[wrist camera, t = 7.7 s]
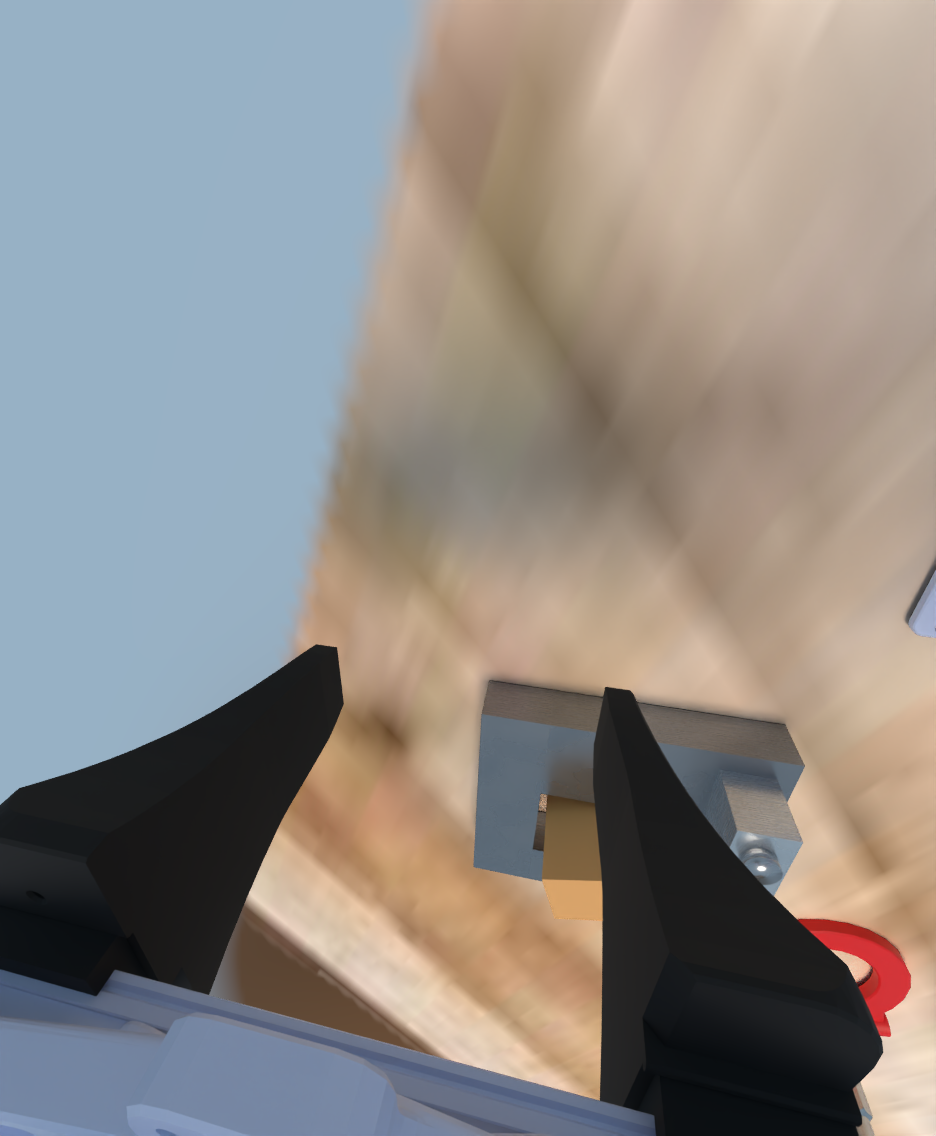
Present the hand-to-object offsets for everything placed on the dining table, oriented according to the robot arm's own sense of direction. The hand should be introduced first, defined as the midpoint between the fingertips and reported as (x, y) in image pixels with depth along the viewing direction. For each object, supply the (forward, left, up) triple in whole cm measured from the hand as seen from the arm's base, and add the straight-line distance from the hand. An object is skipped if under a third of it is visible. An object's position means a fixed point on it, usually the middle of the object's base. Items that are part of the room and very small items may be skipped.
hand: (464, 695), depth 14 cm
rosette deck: (-7, +14, -10) cm, 18 cm away
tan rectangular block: (-5, +15, -10) cm, 19 cm away
